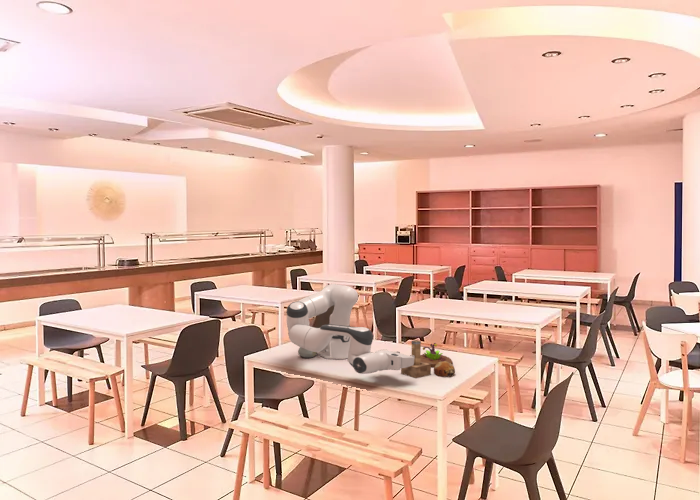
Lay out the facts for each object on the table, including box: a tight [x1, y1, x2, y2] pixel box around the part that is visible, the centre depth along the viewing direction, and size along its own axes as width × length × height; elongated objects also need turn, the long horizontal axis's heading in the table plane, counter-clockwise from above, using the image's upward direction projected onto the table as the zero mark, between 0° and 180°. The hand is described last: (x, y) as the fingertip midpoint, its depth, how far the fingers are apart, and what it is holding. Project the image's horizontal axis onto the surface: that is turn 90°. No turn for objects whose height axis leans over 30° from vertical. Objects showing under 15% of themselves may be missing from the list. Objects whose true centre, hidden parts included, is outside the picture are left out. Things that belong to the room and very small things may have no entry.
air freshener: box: [297, 347, 318, 359], centre depth 280 cm, size 11×8×10 cm
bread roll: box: [433, 361, 456, 378], centre depth 248 cm, size 10×10×8 cm
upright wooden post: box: [411, 339, 422, 365], centre depth 247 cm, size 3×3×16 cm
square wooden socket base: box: [400, 361, 432, 379], centre depth 248 cm, size 10×10×5 cm
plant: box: [420, 342, 454, 369], centre depth 269 cm, size 20×20×11 cm
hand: (406, 355), depth 242 cm, fingers open, 8 cm apart
